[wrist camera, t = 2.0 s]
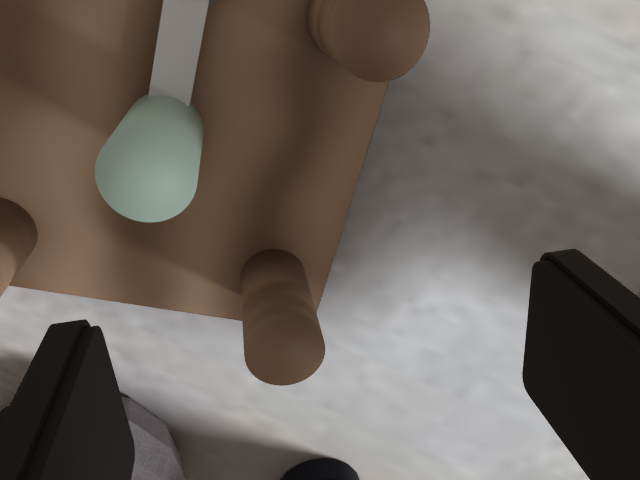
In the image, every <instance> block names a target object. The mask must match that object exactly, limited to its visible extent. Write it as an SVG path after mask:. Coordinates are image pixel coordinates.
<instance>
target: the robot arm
mask: <svg viewBox="0 0 640 480" xmlns="http://www.w3.org/2000/svg"><path fill="white" fill-rule="evenodd" d="M523 383H524V387H525V389H526V391H527V393H528V395H529V396H530V398H531V399H532V400H533V402H534V403H535V404H536V406H537V407H538V409H539V410H540V411H541V413H542V414H543V415H544V417H545V418H546V420H547V421H548V422H549V424H550V425H551V426H552V428H553V429H554V431H555V432H556V433H557V435H558V436H559V438H560V439H561V440H562V442H563V443H564V444H565V446H566V447H567V449H568V450H569V451H570V453H571V454H572V455H573V457H574V458H575V460H576V461H577V462H578V464H579V465H580V466H581V468H582V469H583V471H584V472H585V473H586V475H587V476H588V477H589V479H590V480H640V298H639V297H638V296H636V295H635V294H634V293H632V292H631V291H630V290H629V289H627V288H626V287H625V286H623V285H622V284H621V283H620V282H618V281H617V280H616V279H614V278H613V277H612V276H611V275H609V274H608V273H607V272H605V271H604V270H603V269H602V268H600V267H599V266H598V265H596V264H595V263H594V262H593V261H591V260H590V259H589V258H587V257H586V256H585V255H584V254H582V253H581V252H580V251H578V250H576V249H569V250H562V251H555V252H548V253H544V254H543V255H542V257H541V259H540V261H538V262H535V263H534V265H533V268H532V276H531V287H530V298H529V309H528V320H527V330H526V341H525V352H524V363H523ZM134 461H135V446H134V440H133V436H132V433H131V429H130V426H129V422H128V419H127V415H126V412H125V408H124V405H123V402H122V398H121V395H120V391H119V388H118V384H117V381H116V377H115V374H114V370H113V367H112V363H111V360H110V357H109V353H108V350H107V346H106V343H105V339H104V336H103V333H102V330H101V328H100V327H99V326H93V327H91V326H90V324H89V323H88V321H87V320H78V321H71V322H64V323H57V324H52V325H50V327H49V328H48V330H47V332H46V334H45V336H44V338H43V340H42V342H41V344H40V346H39V348H38V350H37V352H36V354H35V356H34V358H33V360H32V362H31V364H30V366H29V368H28V370H27V372H26V374H25V376H24V378H23V380H22V382H21V384H20V386H19V388H18V390H17V392H16V395H15V397H14V399H13V401H12V403H11V405H10V406H8V407H6V408H4V409H2V410H1V411H0V480H131V478H132V472H133V467H134Z"/></svg>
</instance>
